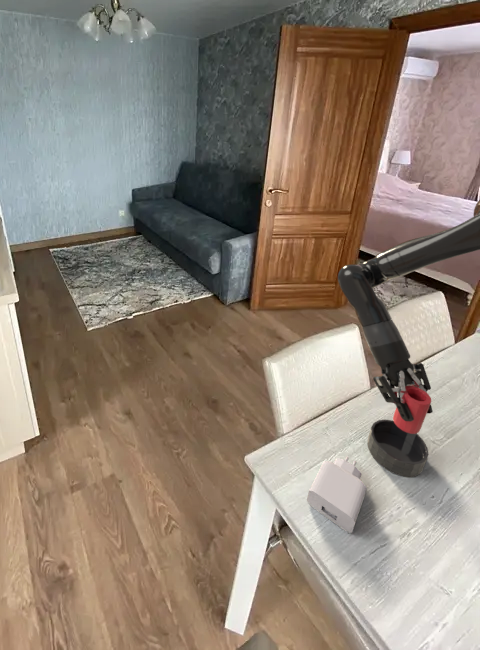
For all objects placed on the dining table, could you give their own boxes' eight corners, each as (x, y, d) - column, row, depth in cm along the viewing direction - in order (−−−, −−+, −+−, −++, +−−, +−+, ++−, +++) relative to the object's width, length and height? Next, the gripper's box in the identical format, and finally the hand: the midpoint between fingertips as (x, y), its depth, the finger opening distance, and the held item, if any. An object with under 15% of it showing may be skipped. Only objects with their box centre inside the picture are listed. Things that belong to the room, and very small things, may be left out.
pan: (409, 435, 90) (414, 423, 89) (433, 481, 79) (438, 468, 78) (360, 428, 92) (364, 416, 91) (377, 472, 81) (381, 459, 80)
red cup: (413, 415, 83) (424, 387, 79) (424, 435, 78) (436, 406, 74) (389, 412, 84) (398, 384, 80) (398, 431, 79) (409, 402, 75)
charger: (370, 479, 80) (351, 535, 69) (329, 454, 85) (306, 503, 75) (375, 465, 78) (355, 520, 67) (333, 440, 84) (309, 488, 73)
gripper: (374, 346, 78) (410, 427, 72) (419, 332, 83) (456, 408, 77) (351, 350, 84) (382, 425, 79) (393, 337, 89) (425, 407, 83)
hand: (418, 416), depth 78 cm, fingers closed on red cup, 5 cm apart
